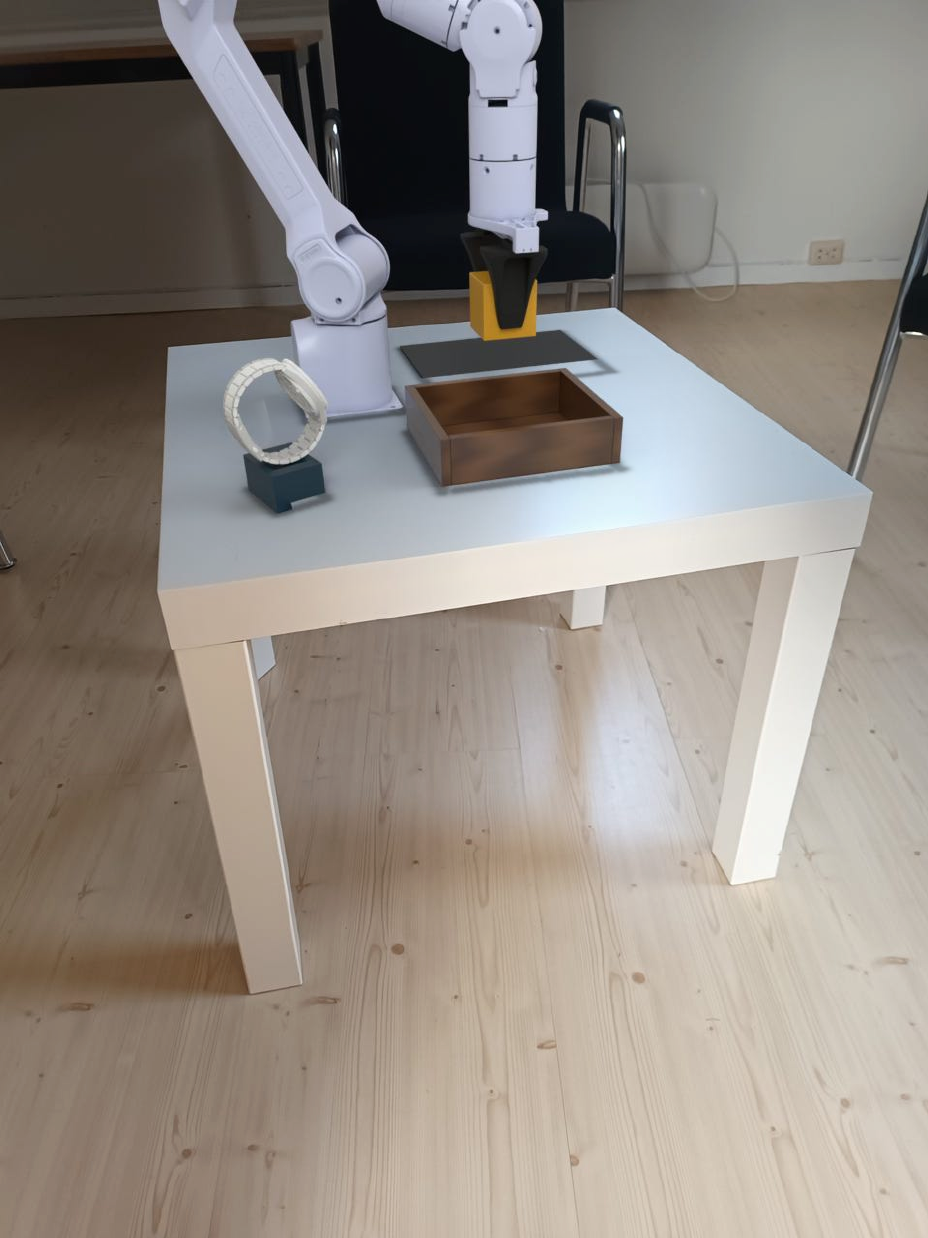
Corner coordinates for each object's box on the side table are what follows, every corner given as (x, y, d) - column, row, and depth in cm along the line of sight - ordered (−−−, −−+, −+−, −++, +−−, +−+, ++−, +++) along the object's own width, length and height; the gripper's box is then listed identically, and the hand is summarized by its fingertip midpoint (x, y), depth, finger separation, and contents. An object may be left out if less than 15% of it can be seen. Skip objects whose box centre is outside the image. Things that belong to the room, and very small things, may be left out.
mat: (431, 392, 96) (431, 389, 95) (400, 348, 109) (399, 345, 108) (611, 371, 100) (611, 369, 100) (560, 331, 113) (560, 329, 113)
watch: (347, 492, 76) (333, 360, 70) (256, 519, 72) (234, 382, 66) (315, 470, 80) (300, 343, 74) (228, 494, 76) (205, 362, 70)
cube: (483, 341, 84) (483, 284, 81) (469, 326, 88) (469, 271, 85) (536, 336, 85) (537, 279, 82) (519, 321, 89) (520, 267, 86)
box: (442, 493, 75) (440, 439, 73) (407, 433, 86) (404, 385, 84) (619, 468, 79) (623, 417, 76) (563, 414, 90) (565, 367, 87)
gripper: (576, 165, 73) (569, 336, 81) (522, 145, 85) (520, 296, 92) (491, 170, 72) (492, 344, 79) (447, 149, 84) (451, 302, 91)
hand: (502, 319), depth 86 cm, fingers closed on cube, 5 cm apart
